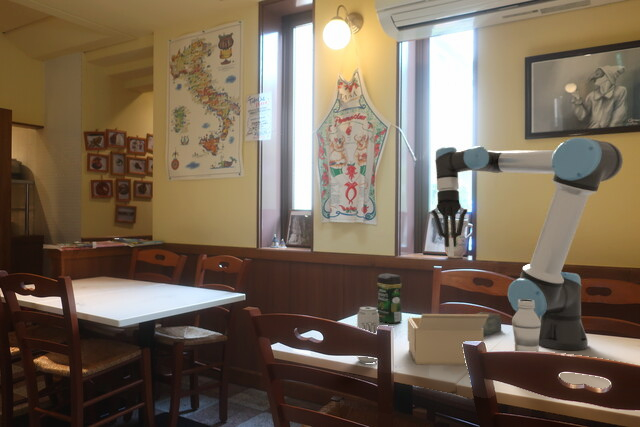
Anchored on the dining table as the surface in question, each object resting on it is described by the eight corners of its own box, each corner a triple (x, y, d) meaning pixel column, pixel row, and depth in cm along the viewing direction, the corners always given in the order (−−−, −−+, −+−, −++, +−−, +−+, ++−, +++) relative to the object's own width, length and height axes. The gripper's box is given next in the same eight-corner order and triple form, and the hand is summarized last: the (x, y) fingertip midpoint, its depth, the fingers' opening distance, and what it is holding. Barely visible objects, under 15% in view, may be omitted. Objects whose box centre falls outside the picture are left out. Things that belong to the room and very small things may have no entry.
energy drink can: (359, 365, 131) (359, 310, 131) (355, 359, 137) (355, 306, 137) (381, 364, 132) (381, 310, 132) (376, 358, 138) (376, 306, 138)
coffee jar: (373, 320, 189) (373, 273, 189) (390, 318, 193) (390, 271, 193) (388, 324, 180) (388, 275, 181) (405, 322, 184) (405, 274, 184)
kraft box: (470, 350, 145) (470, 317, 145) (484, 365, 131) (484, 328, 131) (407, 349, 146) (407, 317, 146) (414, 364, 132) (414, 328, 132)
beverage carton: (452, 336, 164) (451, 316, 164) (482, 327, 177) (482, 309, 177) (472, 340, 158) (472, 320, 158) (502, 331, 171) (502, 313, 171)
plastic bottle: (547, 386, 114) (546, 302, 115) (520, 387, 114) (519, 302, 114) (533, 377, 121) (532, 297, 121) (507, 378, 120) (507, 298, 121)
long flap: (488, 314, 124) (488, 316, 123) (480, 328, 131) (480, 330, 131) (422, 313, 124) (422, 315, 124) (417, 328, 132) (418, 329, 131)
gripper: (463, 191, 176) (466, 255, 174) (427, 192, 177) (430, 256, 175) (469, 188, 169) (472, 255, 167) (431, 189, 169) (435, 256, 167)
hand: (451, 256), depth 171 cm, fingers closed
